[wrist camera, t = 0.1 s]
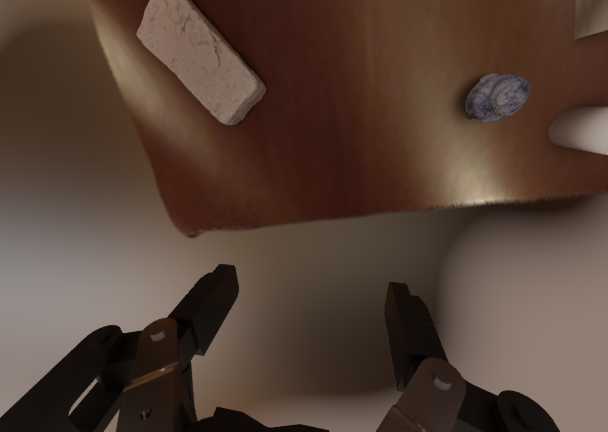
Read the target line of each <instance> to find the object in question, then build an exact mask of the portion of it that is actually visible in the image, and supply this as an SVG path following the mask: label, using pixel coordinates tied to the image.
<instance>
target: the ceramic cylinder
mask: <svg viewBox="0 0 608 432" xmlns="http://www.w3.org/2000/svg"><path fill="white" fill-rule="evenodd" d="M548 135H549V139H550V141H551V142H552V143H553V144H555V145H557V146H562V147H568V148H573V149H579V150H584V151H590V152H595V153H601V154H606V155H608V106H580V107H574V108H571V109H568V110H566V111H564V112H563V113H561V114H560V115H559V116H558V117H557V118H556V119H555V120H554V121H553V122H552V124H551V126H550V128H549V132H548Z"/></svg>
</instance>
